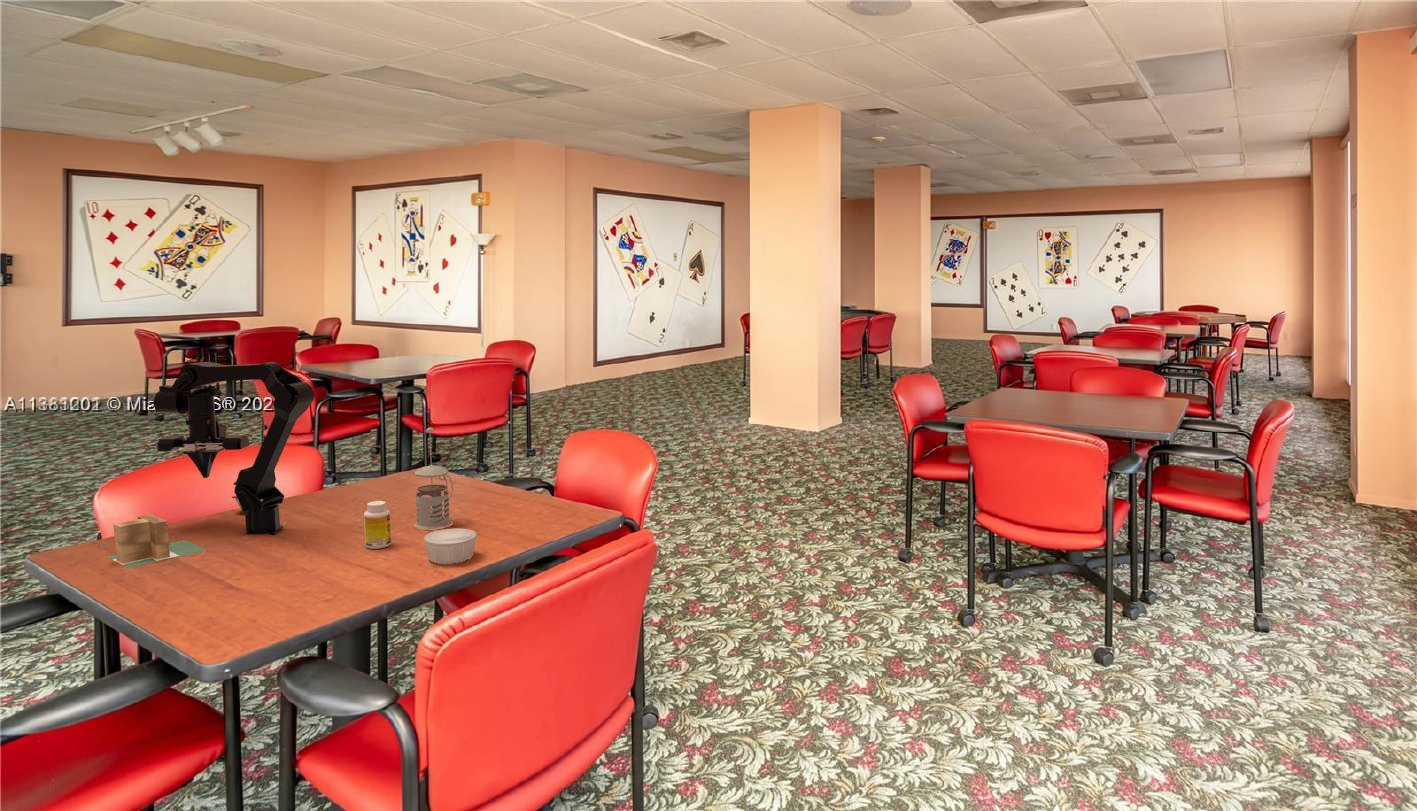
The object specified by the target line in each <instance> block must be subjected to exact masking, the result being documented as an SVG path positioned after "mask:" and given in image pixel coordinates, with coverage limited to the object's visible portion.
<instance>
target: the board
mask: <svg viewBox="0 0 1417 811" xmlns="http://www.w3.org/2000/svg"><path fill="white" fill-rule="evenodd" d="M169 550H170V557H165V558H161V559H155V558H153V557H149V558H145V559H140V560H136V561H131V562H127V563H121V562H120V561H118V560H117V557H116V554H114V555H113V554H112V555H108V556H107V559H110V560H111V561H114V562H116V563H117V564H120V565H121V566H122V567H125V568H127V569H130V568H135V567H140V566H143V565H149V564H152V563H157V562H161V561H165V560H171V559H175V558H178V557H183V556H188V555H193V554H196V553H200V552H201V553H202V552H206V551H207V549H205V548H203V547H201V546H199V545H197V544H194V543H192V542H190V541H187V540H183V539H182V540H179V541H174V542H169Z"/></svg>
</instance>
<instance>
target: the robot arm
mask: <svg viewBox="0 0 1417 811" xmlns="http://www.w3.org/2000/svg"><path fill="white" fill-rule="evenodd" d="M254 380H258V381H259V380H260V381H261V382H262V383H263V385H264V387H265V388H266V391H267V392H268V393H269V394H270V395H271V396H272V397H273V398H274V399H273V404H272V405H273V411H274V416H273V418H272V421H271V423H270V425H269V427H268V430H267V431H266V433H265V437H264V438H263V441H262V444H261V445H260V448H259V451H258V452H257V455H256V457H255V460H254V462H253V464H252V466H249V467H246V468H243V469H241V470H239V472H238V474H237V478H236V480H235V482H234V483H233V485H234V494H235V496H236V497H237V498H238V500H239V503H240V505H241V508H242V510H243V512H246V514H245V516H244V520H245V531H246V532H245V535H264V534H265V535H267V534H268V535H275V534H276V533H277V532H280V530H282V529H283V528H284V526H283V525H282V524H281V521H280V520H281V518H280V516H281V515H280V504H283V502H284V498H285V495H284V493H283V492H282V491H281V490H279V488H277V487H276V486H275V485H276V480H277V479H276V471H275V470H276V467H277V465H278V463H279V460H280V458H281V456H282V454H283V451H284V449H285V447H286V445H287V442H288V440H289V437H290V436H291V433H292V430H293V428H294V427H295V424H296V421H297V420H298V419H300V417H302V415H303V414H305V412H306V411H307V410H308V409H309V408H310V405H311V404H312V403H313V401H314V399H315V396H316V394H315V391H314V388H313V387H312V386H311V385H310V384H309V383H307V382H305V381H304V380H302V379H301V378H300V377H299V376H298V375H295V374H293V373H292V372H290V371H288V370H287V369H285V368H284V367H283V366H282V365H281V364H279V363H278V362H275V361H270V362H263V363H249V364H246V363H245V364H233V365H232V364H230V365H229V364H227V365H226V364H221V363H219V362H210V361H203V362H201V361H200V362H191V363H186V364H183V365H182V366H181V368H180V371H179V373H178V376H177V378H175V380H174V383H173V384H172V385H168V384H164V385H159V386H158V389H159V390H158V391H157V392H156V393H155V395H154V397H153V399H154V400H152V402H153V407H154V409H155V411H156V412H157V413H159V414H176V415H178V414H180V415H185V414H186V415H187V419H185V425H188V436H187V437H186V438H185V437H184V435H168V436H165V437H161V438H159V439H158V440H157V442H156V451H157V452H170V451H172V450H173V449H175V448H184V451H183V452H182V453H183V455H187V456H188V458H189V459H190V460H191V461H192V462H193V463H194V465H195V467H196V468H197V470H198V471H199V473H200V475H201V476H202V477H203V479H207V478H209V477H210V474H211V471H212V468H213V465H214V463H215V462H214V461H215V459H216V457H217V455H218V454H219V453H220V452H221V451H222V452H223V451H224V450H226V451H236V450H243V449H244V448H247V447H249V446H250V439H249V438H248V436H247V435H246V434H230V435H228V436H227V427H228V426H227V425H225V424H223V423H220V422H219V417H218V416H216V410H215V408H216V407H215V397H219V396H222V395H223V392H222V391H221V390H220V389H218V388H217V387H216V386H214V384H215V385H216V384H220V383H222V382H223V383H224V382H233V381H234V382H235V381H237V382H238V381H254ZM211 385H212V386H211ZM206 386H207V387H206ZM204 387H206V388H204ZM261 499H263V501H261ZM241 508H240V509H241ZM242 510H241V511H242Z"/></svg>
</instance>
